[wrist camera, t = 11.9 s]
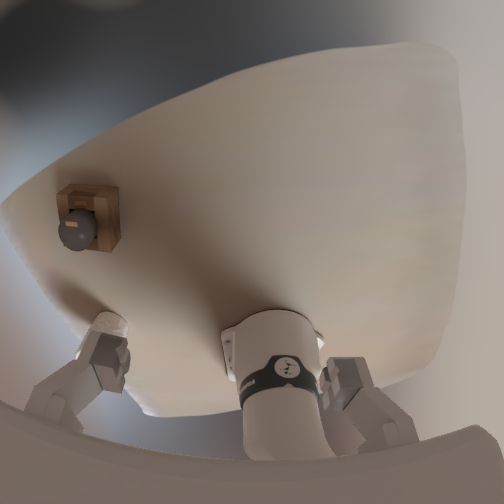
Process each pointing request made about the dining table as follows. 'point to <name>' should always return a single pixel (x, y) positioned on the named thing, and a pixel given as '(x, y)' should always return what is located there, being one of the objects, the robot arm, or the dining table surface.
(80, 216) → the knob
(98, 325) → the white cup
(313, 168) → the dining table surface
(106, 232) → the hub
